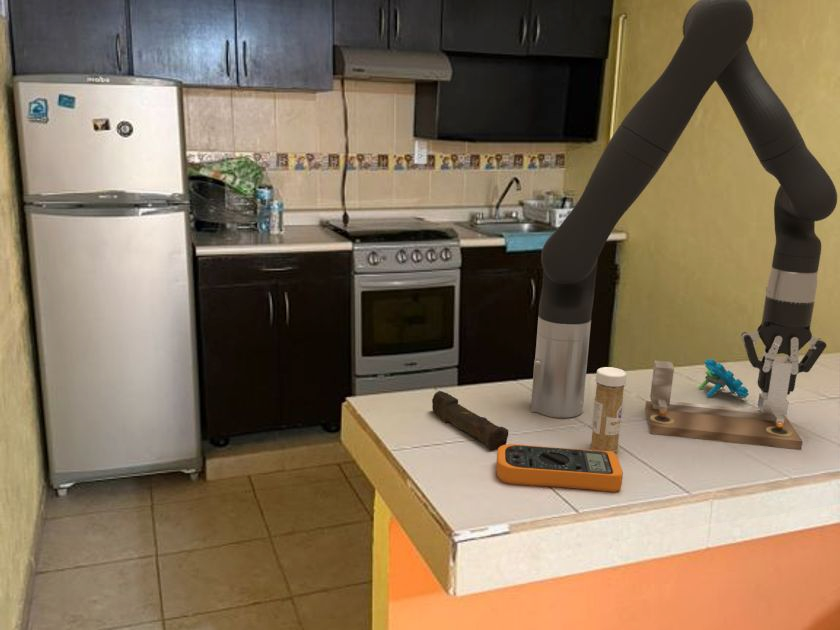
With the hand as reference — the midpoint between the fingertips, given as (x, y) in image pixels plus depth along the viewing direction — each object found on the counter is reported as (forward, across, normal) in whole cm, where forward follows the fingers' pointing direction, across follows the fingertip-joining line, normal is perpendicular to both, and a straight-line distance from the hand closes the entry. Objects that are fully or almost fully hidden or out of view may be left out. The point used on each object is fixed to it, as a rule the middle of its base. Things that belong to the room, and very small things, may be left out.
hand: (775, 391), depth 136 cm
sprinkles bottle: (+7, -29, -18) cm, 35 cm away
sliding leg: (+4, 0, -2) cm, 5 cm away
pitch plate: (+7, -9, -3) cm, 12 cm away
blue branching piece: (+7, -6, +15) cm, 17 cm away
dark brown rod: (+7, -52, -16) cm, 55 cm away
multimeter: (+7, -36, -30) cm, 47 cm away
